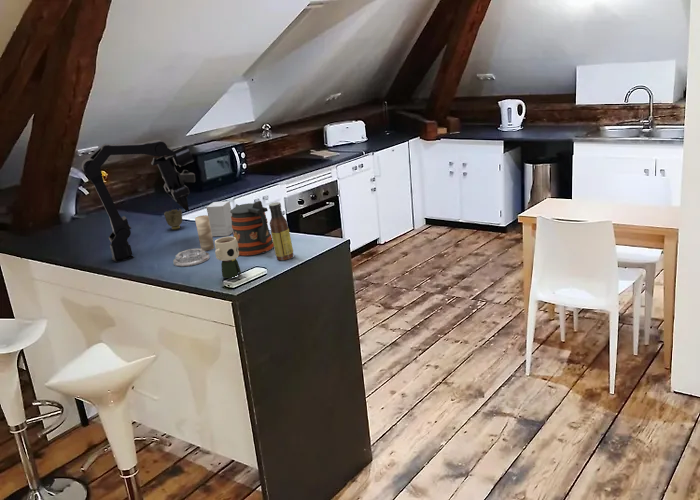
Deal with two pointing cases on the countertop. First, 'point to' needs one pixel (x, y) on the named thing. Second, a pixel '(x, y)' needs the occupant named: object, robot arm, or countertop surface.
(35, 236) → the countertop surface
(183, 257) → the socket ring
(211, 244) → the knob post
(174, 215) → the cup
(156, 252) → the countertop surface
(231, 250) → the character mug
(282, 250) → the sauce bottle
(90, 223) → the countertop surface
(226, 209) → the supplement box
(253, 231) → the beer stein
